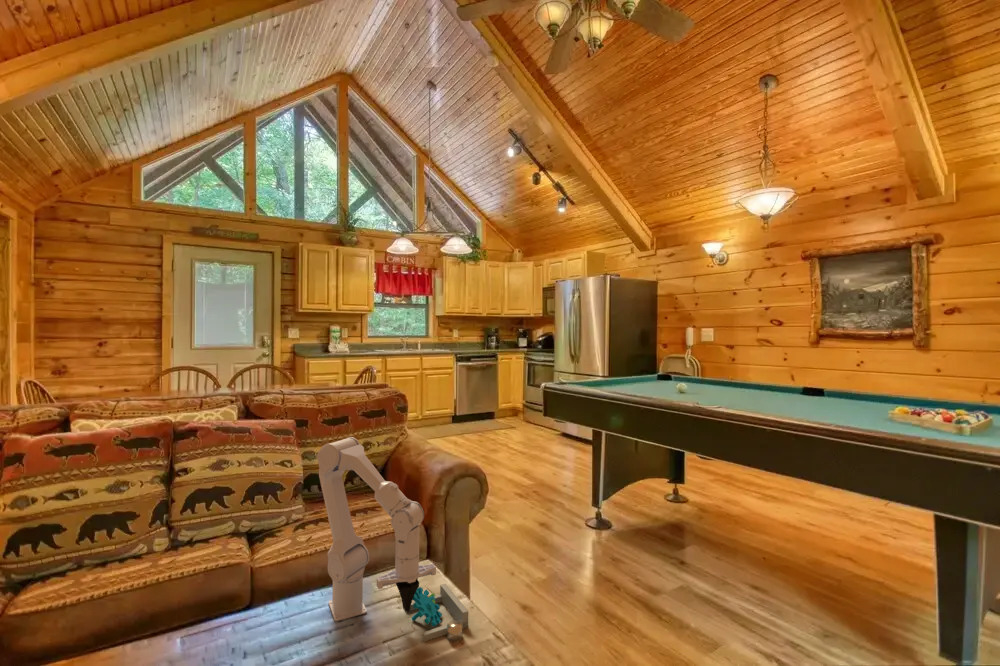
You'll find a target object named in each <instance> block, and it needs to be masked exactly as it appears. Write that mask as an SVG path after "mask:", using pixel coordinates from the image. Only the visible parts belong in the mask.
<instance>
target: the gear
mask: <svg viewBox="0 0 1000 666" xmlns="http://www.w3.org/2000/svg"><path fill="white" fill-rule="evenodd" d="M435 595H436V594H435V593H434V592H432V593H431V594H430V591H429V590H428V589H425V590H424V588H423V587H421V586H419V587H418V589H417V591H416V592H415V594H414V597H413V600H412V601H413V602H414V601H415V603H414V604H413V606H414V608H415V610H418V611H417V612H416V613H415V614H413V615H412V617H411V620H412V621H413V622H415V621H416V620H417V619H418V618H420V619H421V618H422V617H423V616H424V617H426V618H425V619H424V620H423V622H424V623H425V624H426V625H429V624H430V625H431V626H432V627H434V628H436V626H437V625H439V624H440V623H441V622H442V620H441V619H440V618H441V617H442V616H443V613H442V612H440V611H439V610H440V609H441V607H440V604H439V603H436V604H435V598H434V597H435Z"/></svg>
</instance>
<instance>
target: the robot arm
mask: <svg viewBox="0 0 1000 666" xmlns="http://www.w3.org/2000/svg"><path fill="white" fill-rule="evenodd" d="M316 459H317V463H318V466H319V467H318V478H319V483H320V487H321V490H322V496H323V500H324V505H325V508H326V514H327V519H328V524H329V528H330V532H331V537H332V541H333V542H332V544H331V546H330V548H329V550H328V551H327V553H326V554H327V555H326V556H327V562H328V563H327V574H328V575H329V577H330V579H331V581H332V599H331V600H328V606H329V609H330V611H331V615H332V616H333V617H332V618H333V620H334V621H335V622H339V621H342V620H347V619H350V618H353V617H357V616H361V615H364V614H367V613H368V610H367V608H366V606H365V604H364V601H363V599H364V598H363V596H364V595H363V593H364V592H363V591H364V587H363V585H364V572H365V567H366V566H367V564H368V563H369V562H370V553H369V550H368V548H367V547H366V545H365V542H364V539H363V537H361V536H359V535H357V534H355V533H356V532H355V530H354V524H353V520H352V516H351V511H350V506H349V503H348V497H347V494H346V493H347V492H346V489H345V484H344V479H343V475H344V473H345V472H346V471H354V472H355V473H356V474H357V476H359V477H360V479H362V480H363V481H364V482H365V483H366V484H367V485H368V486H369V488H371V489H372V490H373V491H374V499H375V501H376V502H377V503H378V504H379V505H380V506H381V508H382V509H383V510H384V511H385V512H386V513H387V515H388V516H389V517H390V518H391V519H390V523H391V527H392V529H393V531H394V537H395V554H394V555H395V558H394V559H395V560H394V561H395V562H394V563H395V565H394V567H395V569H394V570H393V571H392V570H391V571H389V572H388V573H386V574H383V575H381V576H377V577H376V587H377V589H379V590H380V589H383V588H384V587H388V586H391V585H394V584H395V585H396V588H397V590H398V592H399V596H400V600H401V604H402V609H403V611H404V613H407V611H408V612H411V611H410V606H411V603H412V602H413V601H414V600H413V597H414V594H415V592H416V591H417V589H418V588H419V587H420V581H419V580H418V579H419V578H423V577H426V576H429V575H430V576H436V575H437V574H436V572H437V568H436V566H435V564H433V563H432V564H423V565H420V531H421V529H420V524H421V523H422V522H423V520H424V519H425V512H424V509H423V506H422V505H421V504H420V503H419V502H418V501H413V500H411V498H410V499H409V498H408V497H406V495H405V494H404V493H403V492H402V491H401V490H400V489H399V485H397V483H394V482H393V481H389V480H388V481H387V480H385V479H384V477H383V476H382V475H381V474H380V472H379V471H378V470H377V468H376V467H375V466H374V464H373V463H372V462H371V460H370V459H369V458H368V456H366V453H365V447H364V446H363V445H362V444H361V443H360V442H359V440H358V439H357V438H355V437H353V436H348V437H346V438H344V439H340V440H337V441H333V442H331V443H330V442H329V443H326V444H323V445H322V446H321V448H320V449H319V451H318V452H317V454H316Z"/></svg>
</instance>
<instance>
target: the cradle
mask: <svg viewBox="0 0 1000 666" xmlns="http://www.w3.org/2000/svg"><path fill="white" fill-rule="evenodd" d="M439 587H440V588H439V589H440V590H439V594H435V597H434V598H435V603H436V604H439V603H442V602H443V603H442V604H443V605H444V607H445V606H446V607H447V608H446V607H445V608H446V609H447V611H448V612H449V613H450V615H451V616H452V617H453V618H454V620H458V621H460V622H461V623H462V630H463V629H467V628H469V610H468V609H467V607H465V605H464V604H463V603H462V602H461V600H460V599H459V598H458V597H457V596H456V594H455V592H453V591H452V590H451V588H450V587H449V586H448V585H447V583H443V584H440V586H439ZM441 601H442V602H441ZM438 602H439V603H438ZM414 603H415V601H414V600H413V601H412V603H411V606H410V611H407V612H411V611H414V610H416V609H415V608H414V606H413V604H414ZM407 612H406V613H407ZM445 634H446V635H447V624H445V625H442V626H438V627H434V628H432V629H430V630H429V629H428V630H426V631H423V632H422V638H421V639H422V641H423V642H427V641H430V640H433V639H432V638H434V639H436V638H435V637H437V638H439V637H438V636H440V637H442V636H441V635H443V636H445ZM429 639H430V640H429Z"/></svg>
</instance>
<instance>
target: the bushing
mask: <svg viewBox="0 0 1000 666" xmlns="http://www.w3.org/2000/svg"><path fill="white" fill-rule="evenodd" d="M446 625H447V634H446V640H447V641H449V642H452V643H456V642H457V643H458V642H460V641H461V640H462V638H463V629H462V623H461V622H460V621H458V620H455V619H454V620H450V621H449V622H447V624H446Z"/></svg>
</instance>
